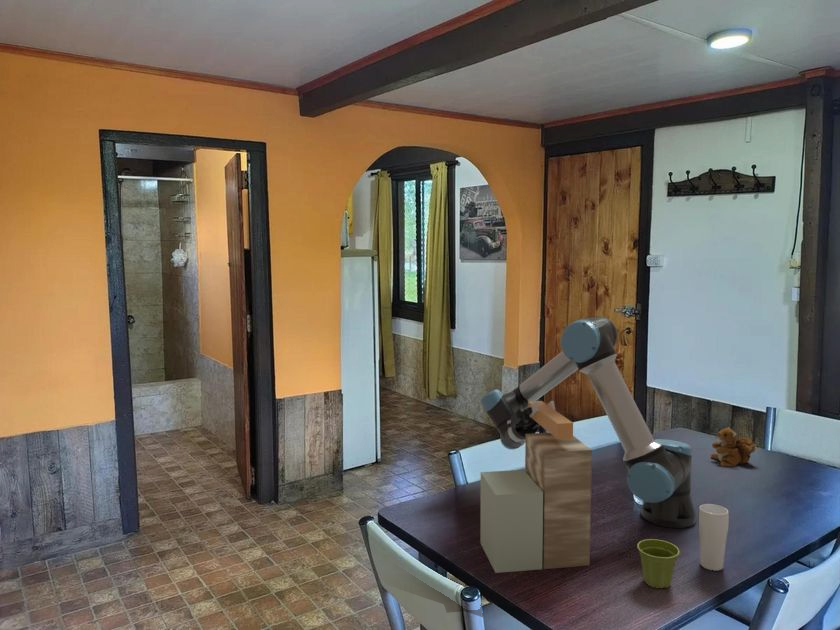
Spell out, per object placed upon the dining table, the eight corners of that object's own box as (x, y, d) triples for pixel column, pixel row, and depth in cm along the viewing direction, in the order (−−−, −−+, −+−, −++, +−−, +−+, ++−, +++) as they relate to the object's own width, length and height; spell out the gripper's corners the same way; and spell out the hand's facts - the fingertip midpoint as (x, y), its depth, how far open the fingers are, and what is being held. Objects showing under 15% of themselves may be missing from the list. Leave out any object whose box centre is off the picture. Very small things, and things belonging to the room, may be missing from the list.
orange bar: (528, 415, 180) (528, 401, 179) (541, 414, 180) (541, 400, 180) (557, 439, 156) (557, 423, 156) (573, 438, 157) (573, 422, 156)
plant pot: (674, 597, 144) (675, 561, 143) (632, 586, 149) (633, 551, 148) (681, 579, 152) (682, 544, 151) (641, 569, 157) (642, 535, 156)
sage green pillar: (480, 543, 171) (480, 472, 169) (523, 540, 173) (523, 469, 171) (495, 572, 155) (495, 494, 153) (542, 569, 157) (543, 491, 155)
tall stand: (524, 540, 173) (525, 433, 170) (566, 536, 174) (568, 431, 171) (543, 569, 157) (545, 452, 154) (589, 565, 158) (591, 450, 155)
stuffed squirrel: (708, 457, 240) (709, 423, 238) (748, 459, 237) (749, 425, 236) (716, 466, 230) (717, 431, 229) (757, 468, 228) (759, 432, 226)
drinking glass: (729, 574, 153) (732, 515, 152) (700, 572, 155) (702, 513, 153) (722, 561, 160) (724, 504, 159) (694, 558, 161) (696, 502, 160)
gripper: (551, 438, 192) (577, 417, 171) (497, 441, 189) (516, 420, 168) (547, 414, 195) (572, 391, 174) (494, 417, 193) (512, 394, 171)
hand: (544, 406), depth 171 cm, fingers closed on orange bar, 4 cm apart
